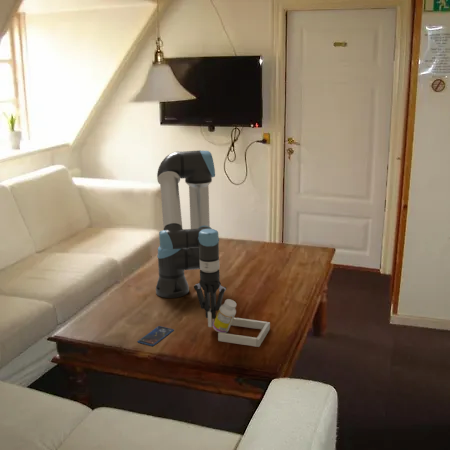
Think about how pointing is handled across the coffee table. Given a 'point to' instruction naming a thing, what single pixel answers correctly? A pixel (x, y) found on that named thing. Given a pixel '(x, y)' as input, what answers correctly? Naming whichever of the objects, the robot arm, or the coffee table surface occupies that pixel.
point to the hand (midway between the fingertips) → (211, 325)
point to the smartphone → (155, 336)
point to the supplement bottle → (225, 316)
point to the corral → (245, 339)
